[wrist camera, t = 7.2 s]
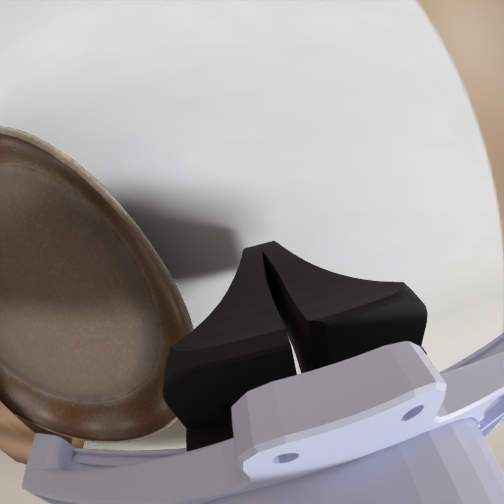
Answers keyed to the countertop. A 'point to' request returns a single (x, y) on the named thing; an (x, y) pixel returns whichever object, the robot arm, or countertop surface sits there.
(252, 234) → the countertop surface
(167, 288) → the plant saucer
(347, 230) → the countertop surface
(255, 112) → the countertop surface
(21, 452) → the walnut shelf
